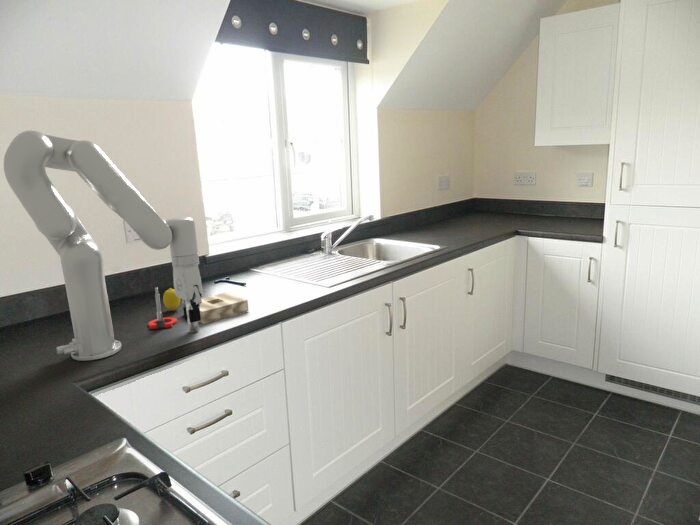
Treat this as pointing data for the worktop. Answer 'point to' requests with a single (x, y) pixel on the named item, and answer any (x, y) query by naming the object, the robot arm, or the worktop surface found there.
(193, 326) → the peg
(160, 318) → the red grey post stand
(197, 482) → the worktop surface
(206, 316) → the hole block
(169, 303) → the lemon
